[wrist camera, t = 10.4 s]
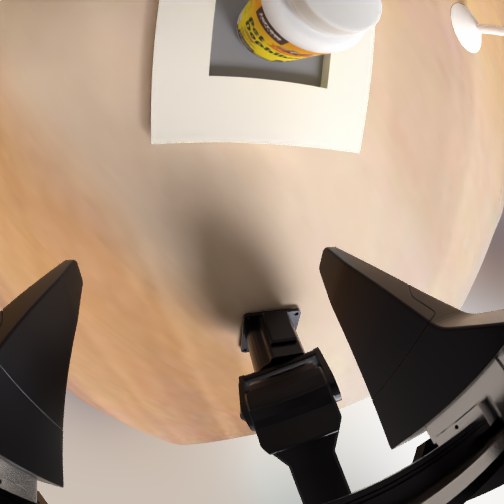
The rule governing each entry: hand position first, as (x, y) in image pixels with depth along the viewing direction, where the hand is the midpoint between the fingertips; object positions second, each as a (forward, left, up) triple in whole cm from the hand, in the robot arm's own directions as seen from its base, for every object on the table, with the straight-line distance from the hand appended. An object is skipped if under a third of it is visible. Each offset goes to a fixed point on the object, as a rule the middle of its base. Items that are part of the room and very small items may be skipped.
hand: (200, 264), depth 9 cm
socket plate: (+11, -5, -13) cm, 18 cm away
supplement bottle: (+11, -5, -13) cm, 18 cm away
